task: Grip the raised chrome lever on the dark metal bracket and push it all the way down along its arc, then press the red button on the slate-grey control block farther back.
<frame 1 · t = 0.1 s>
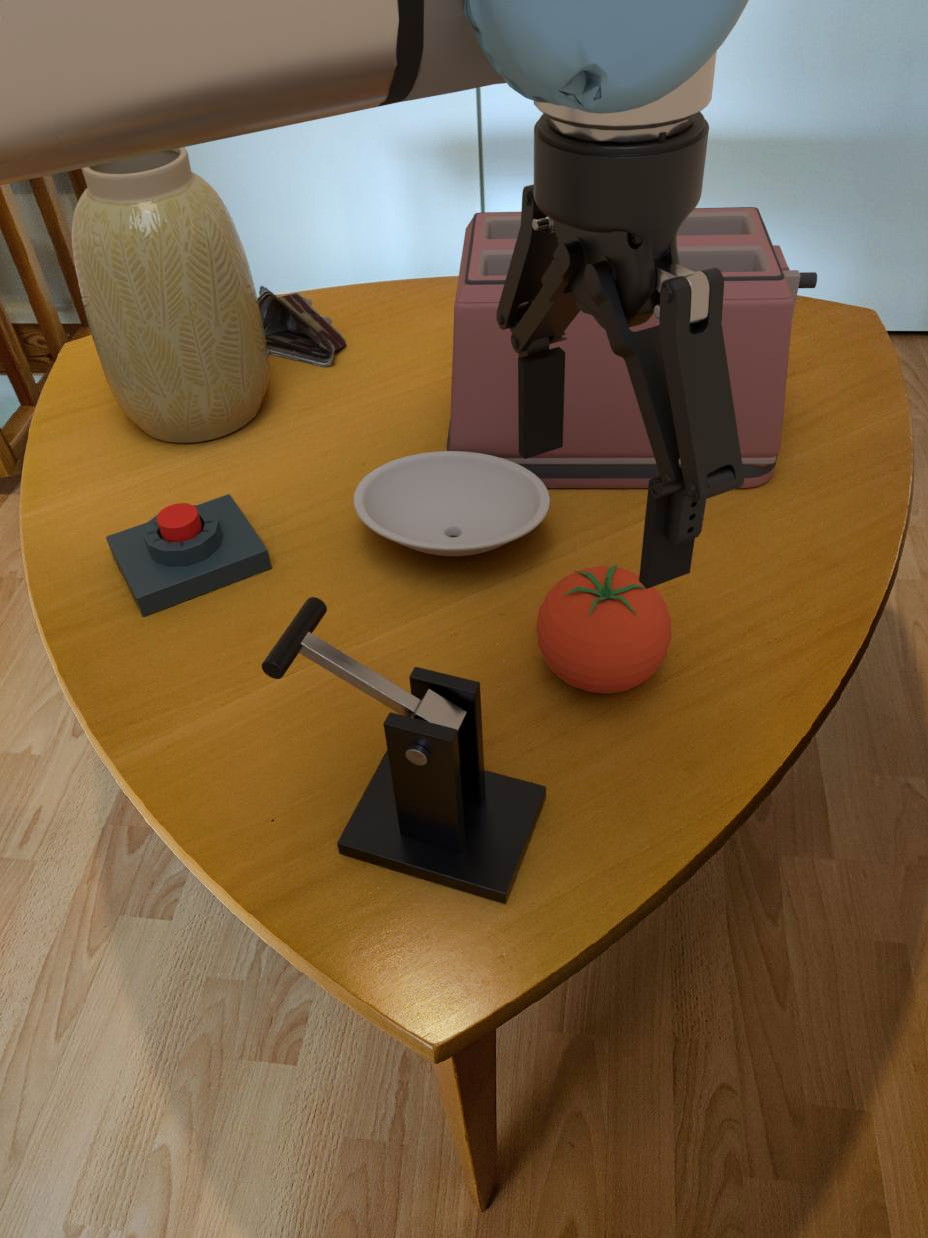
hand: (597, 509, 57), 23 cm above the table, tool pointing down, fingers open, 13 cm apart
control block: (191, 561, 91), on the table
tomato: (600, 673, 79), on the table
dish: (453, 542, 92), on the table
bracket: (444, 825, 69), on the table
button: (179, 522, 88), point 4 cm above the table, slide at 0.1 cm
lever: (370, 682, 61), point 13 cm above the table, hinge at 28.0°
chocolate cake: (310, 345, 120), on the table
toaster: (615, 437, 103), on the table
vase: (200, 412, 111), on the table
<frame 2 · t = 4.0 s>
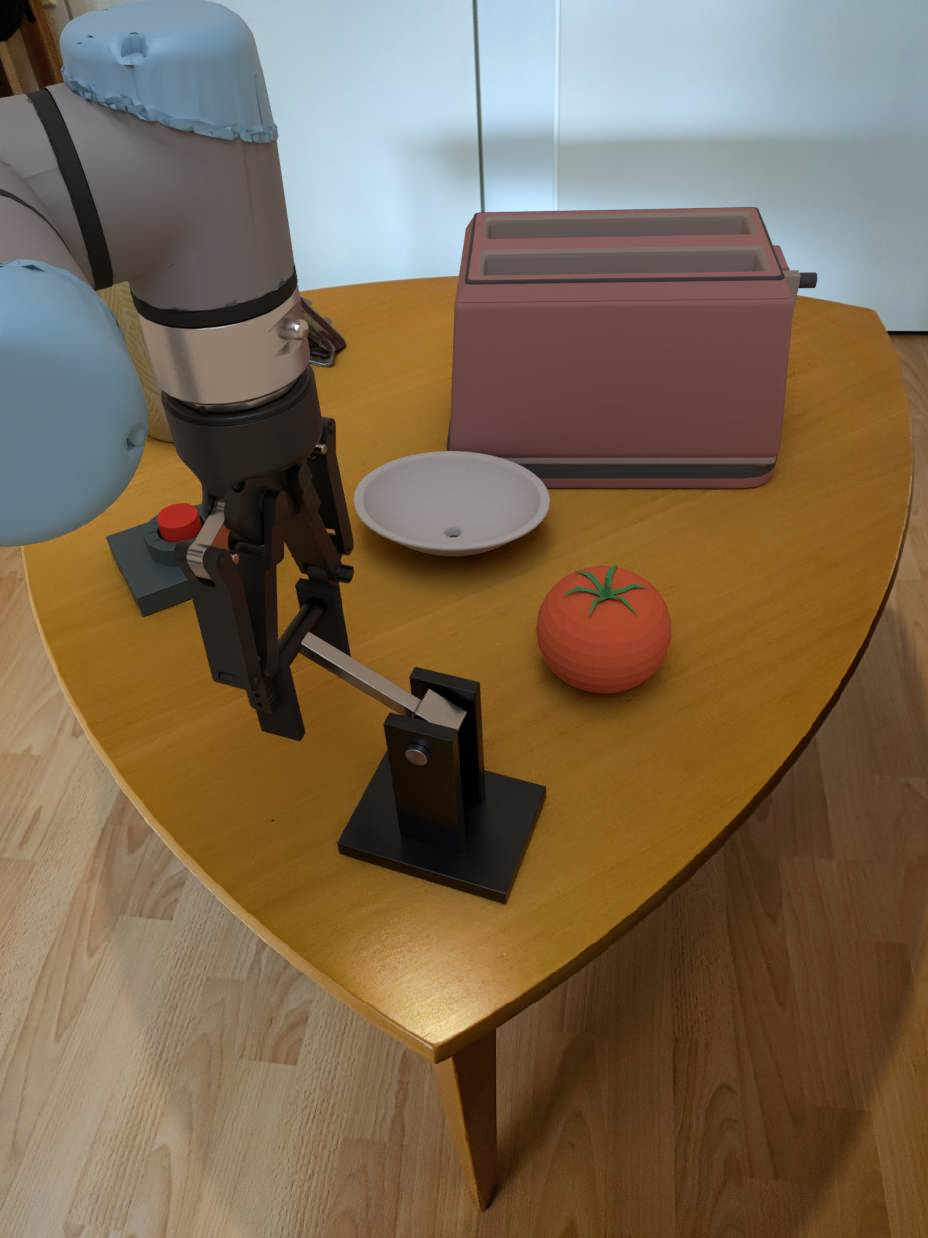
hand: (307, 693, 64), 11 cm above the table, tool pointing down, fingers closed on lever, 6 cm apart
lever: (370, 682, 61), point 13 cm above the table, hinge at 28.0°, touching gripper
everything else where it was.
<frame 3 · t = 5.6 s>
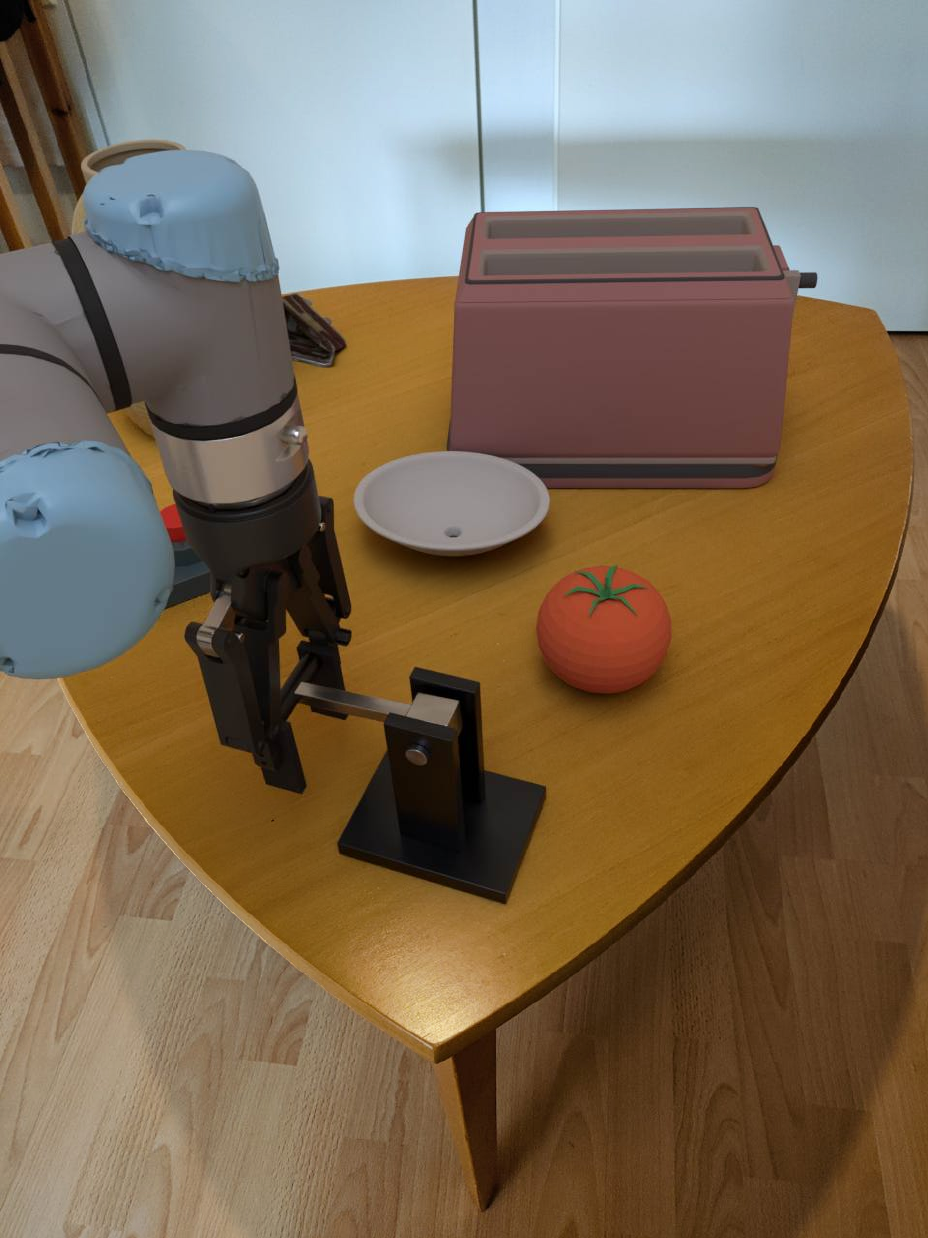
hand: (309, 747, 69), 5 cm above the table, tool pointing down, fingers closed on lever, 6 cm apart
lever: (366, 707, 63), point 11 cm above the table, hinge at -3.4°, touching gripper
everything else where it was.
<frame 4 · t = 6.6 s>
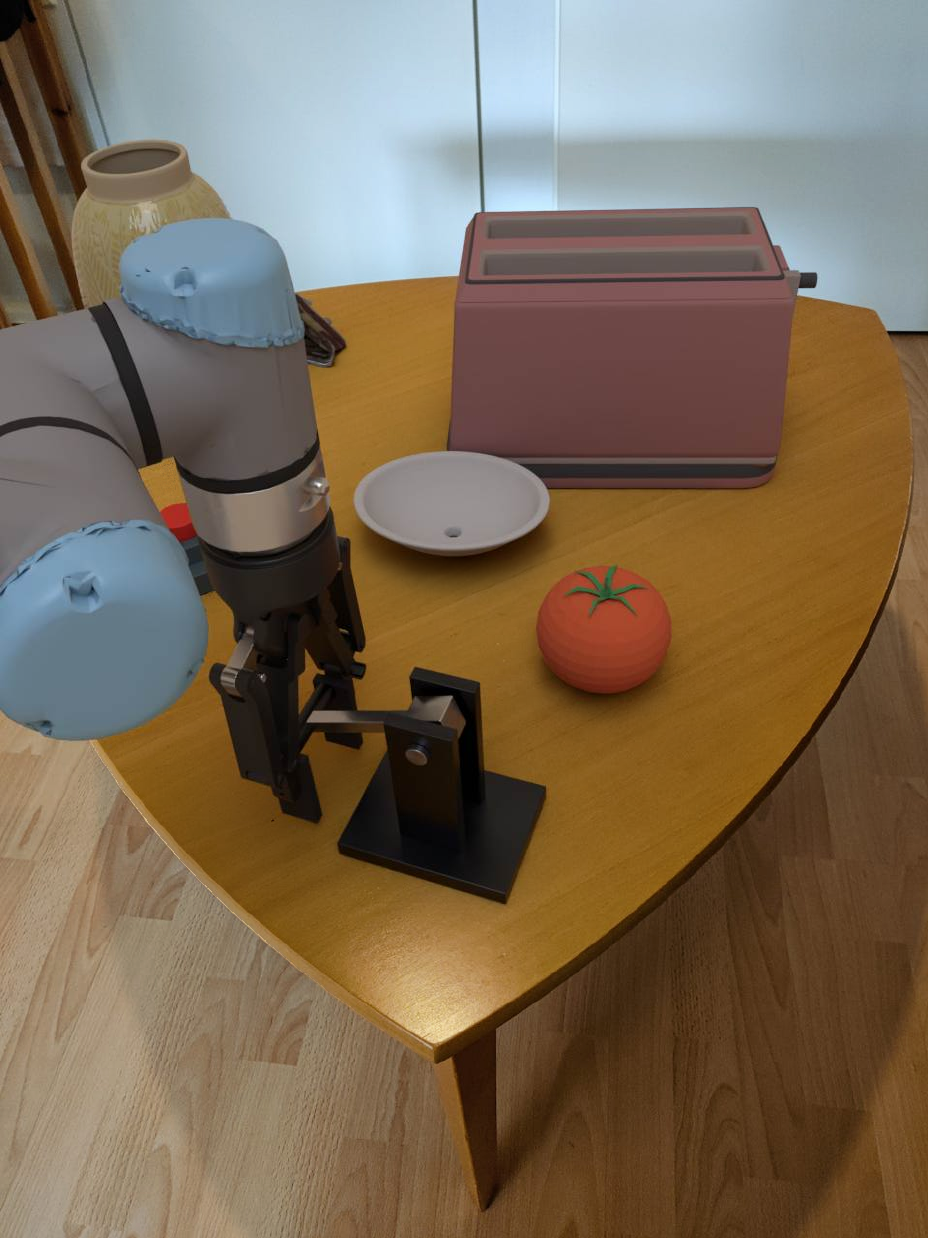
hand: (324, 776, 70), 2 cm above the table, tool pointing down, fingers closed on lever, 6 cm apart
lever: (372, 721, 64), point 9 cm above the table, hinge at -19.9°, touching gripper
everything else where it was.
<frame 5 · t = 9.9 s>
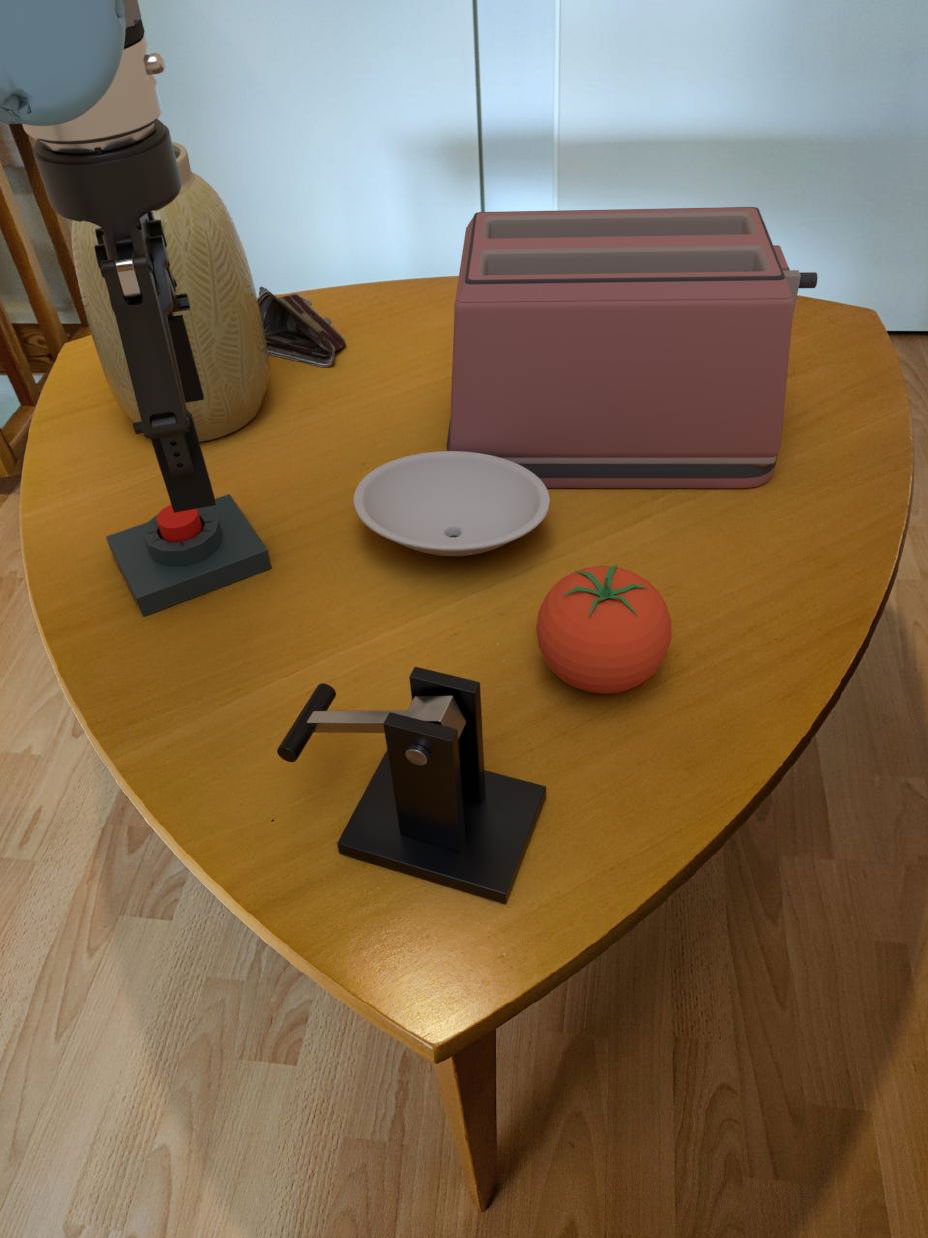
hand: (190, 449, 70), 19 cm above the table, tool pointing down, fingers open, 13 cm apart
lever: (372, 721, 64), point 9 cm above the table, hinge at -20.1°
everything else where it was.
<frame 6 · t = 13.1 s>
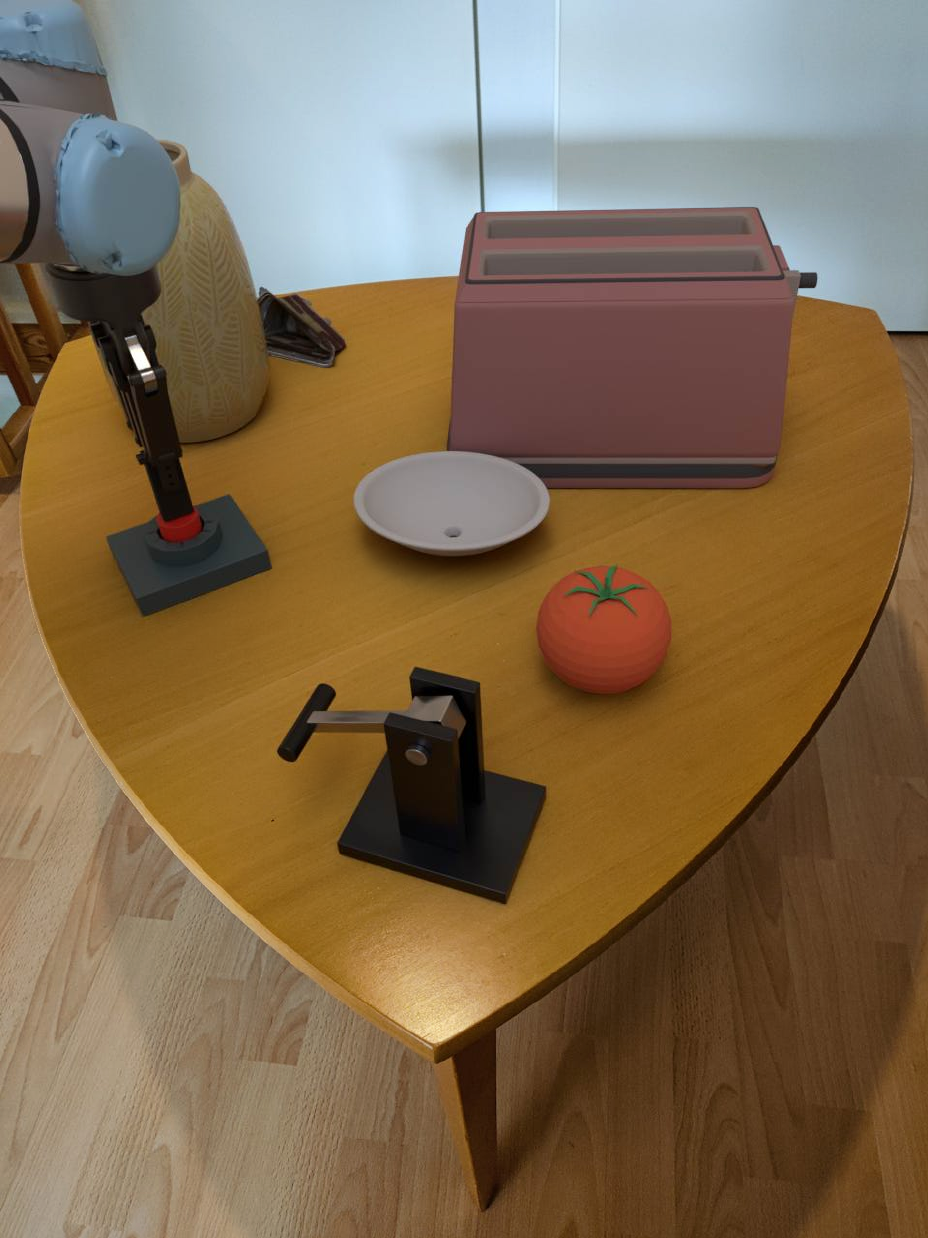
hand: (177, 512, 88), 6 cm above the table, tool pointing down, fingers closed
button: (179, 522, 88), point 4 cm above the table, slide at 0.1 cm, touching gripper
everything else where it was.
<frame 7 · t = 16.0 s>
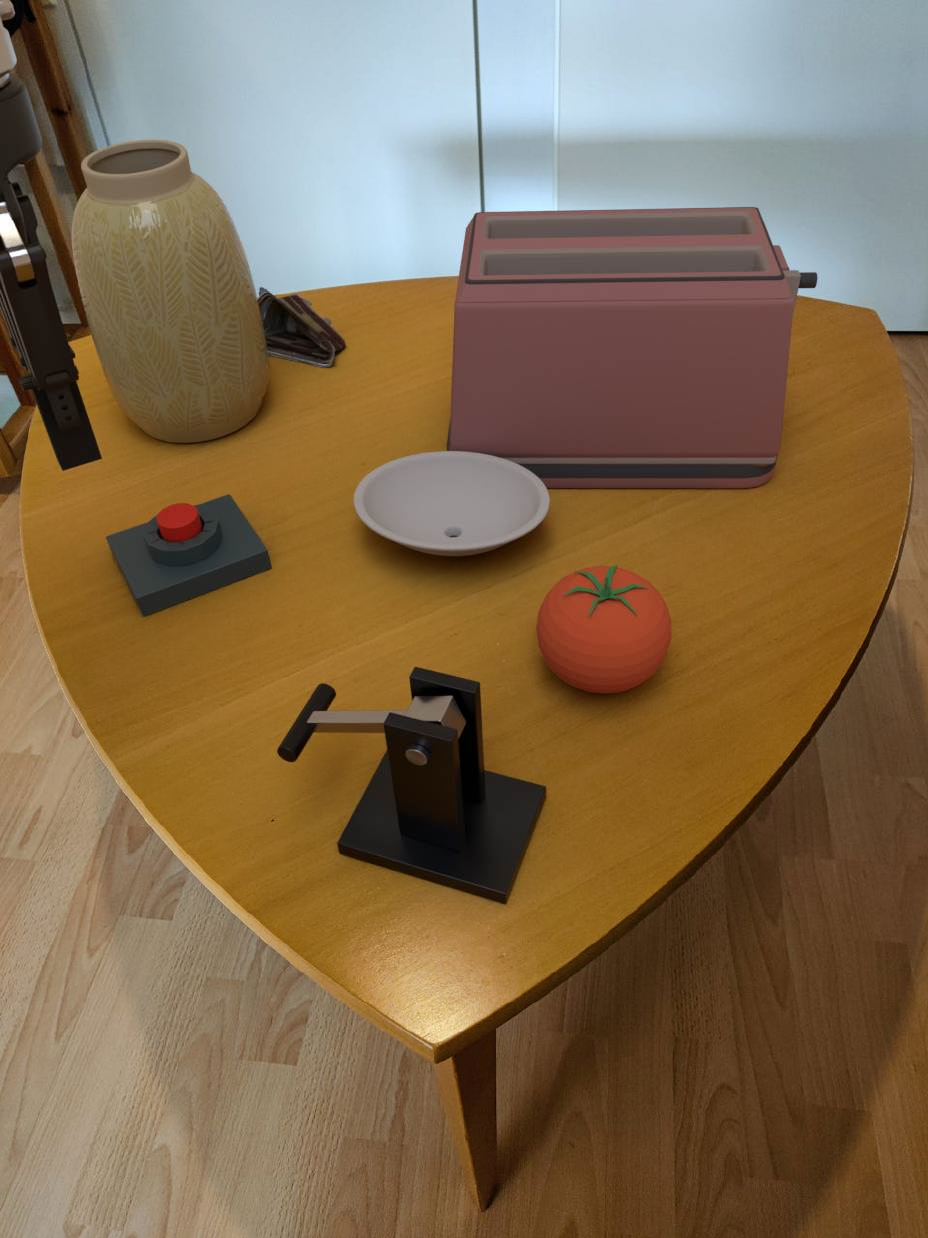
hand: (79, 459, 68), 20 cm above the table, tool pointing down, fingers closed
button: (179, 522, 88), point 4 cm above the table, slide at 0.1 cm
everything else where it was.
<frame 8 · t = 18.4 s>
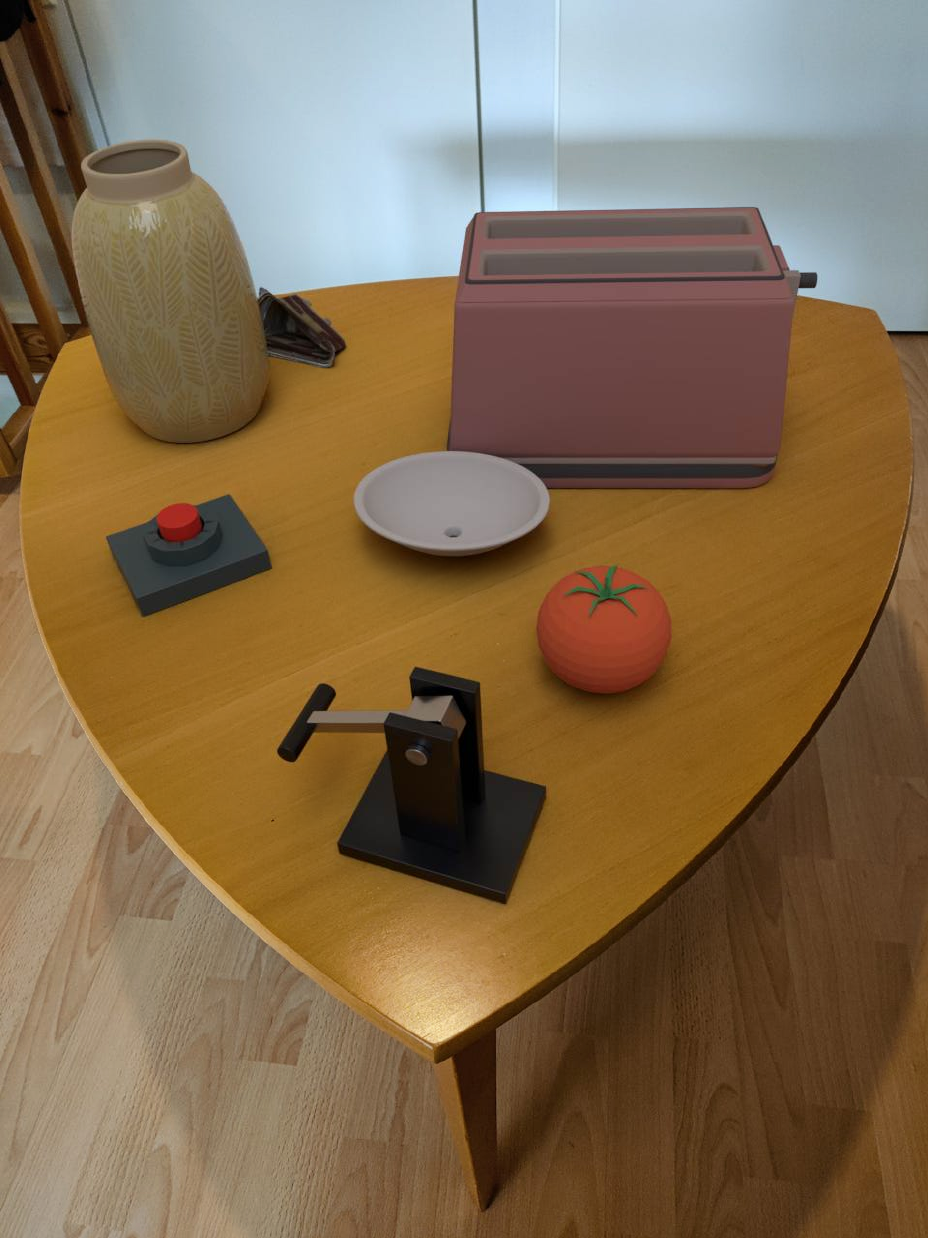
nothing on the table moved.
at the end: lever at -20° (first picture: +28°); button pushed in 1.0 cm at the most during the clip, back to where it started at the end; button slide at 0.1 cm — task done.
